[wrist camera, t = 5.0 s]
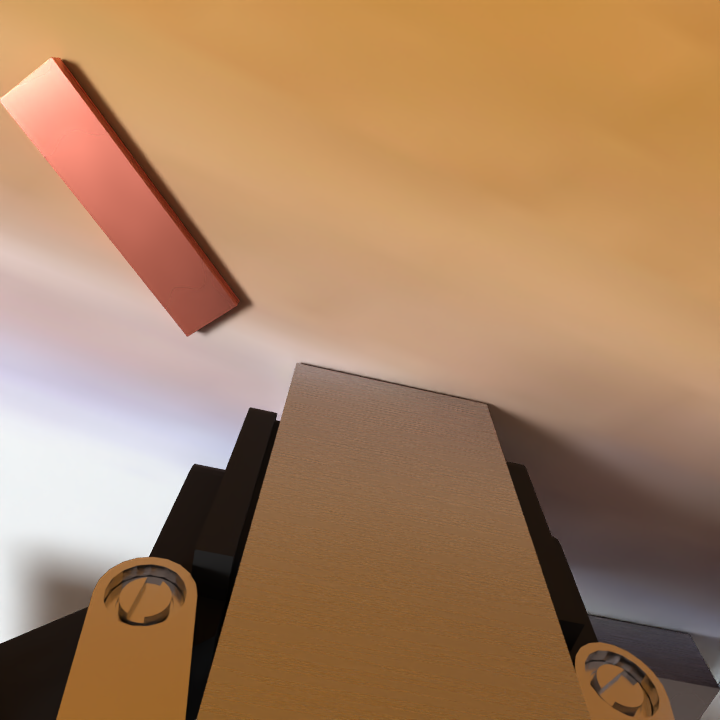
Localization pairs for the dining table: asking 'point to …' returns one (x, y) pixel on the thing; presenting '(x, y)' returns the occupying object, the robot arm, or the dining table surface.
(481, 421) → the block
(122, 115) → the dining table surface
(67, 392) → the dining table surface
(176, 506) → the robot arm
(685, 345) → the dining table surface
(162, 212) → the stand
